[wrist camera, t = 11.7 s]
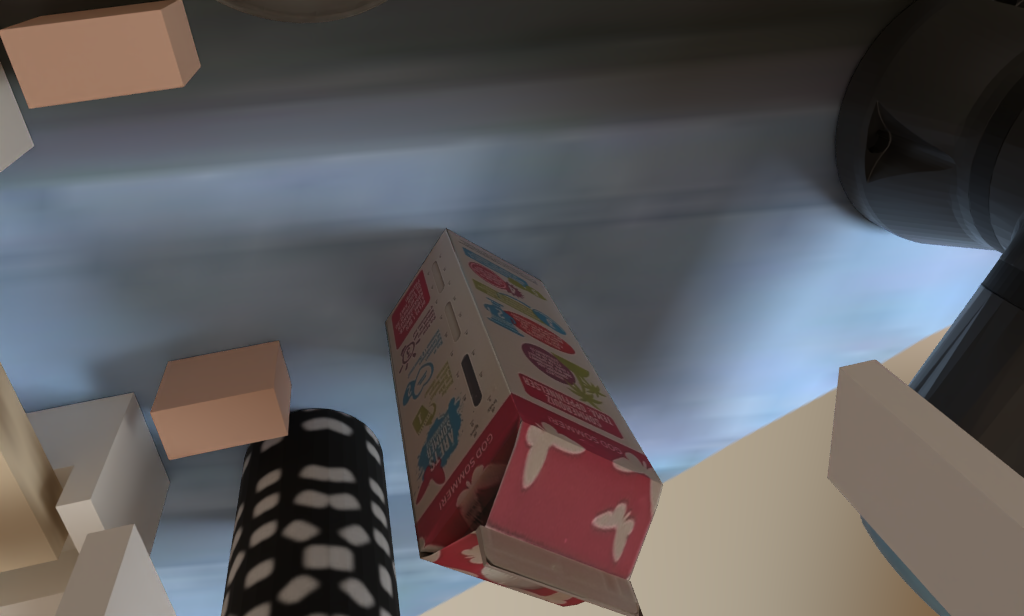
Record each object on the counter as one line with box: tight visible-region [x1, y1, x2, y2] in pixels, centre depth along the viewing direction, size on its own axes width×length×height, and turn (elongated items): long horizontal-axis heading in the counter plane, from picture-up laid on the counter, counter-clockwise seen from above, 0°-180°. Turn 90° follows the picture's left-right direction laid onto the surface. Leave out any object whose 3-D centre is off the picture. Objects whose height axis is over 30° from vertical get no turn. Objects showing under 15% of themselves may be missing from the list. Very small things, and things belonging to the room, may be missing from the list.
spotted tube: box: [221, 409, 400, 616], centre depth 38 cm, size 8×8×20 cm
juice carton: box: [385, 228, 663, 616], centre depth 35 cm, size 7×7×22 cm
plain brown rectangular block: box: [0, 0, 291, 460], centre depth 37 cm, size 21×6×5 cm, turn 6°
